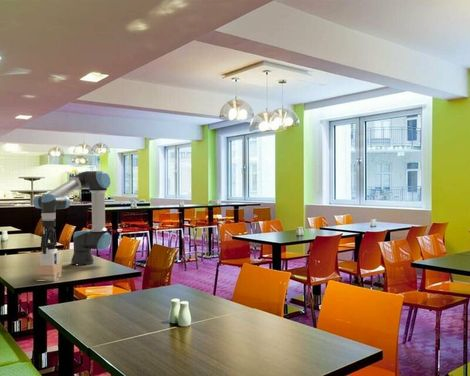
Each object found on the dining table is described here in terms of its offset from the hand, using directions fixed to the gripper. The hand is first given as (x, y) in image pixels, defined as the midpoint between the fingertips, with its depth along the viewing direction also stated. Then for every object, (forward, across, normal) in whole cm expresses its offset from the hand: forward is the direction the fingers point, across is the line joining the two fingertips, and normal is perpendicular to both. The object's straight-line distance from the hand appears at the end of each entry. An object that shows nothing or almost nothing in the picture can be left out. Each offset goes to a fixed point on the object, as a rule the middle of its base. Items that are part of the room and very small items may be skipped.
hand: (49, 257), depth 260 cm
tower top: (+9, 0, 0) cm, 9 cm away
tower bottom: (+13, 0, 0) cm, 13 cm away
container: (+4, 0, 0) cm, 5 cm away
